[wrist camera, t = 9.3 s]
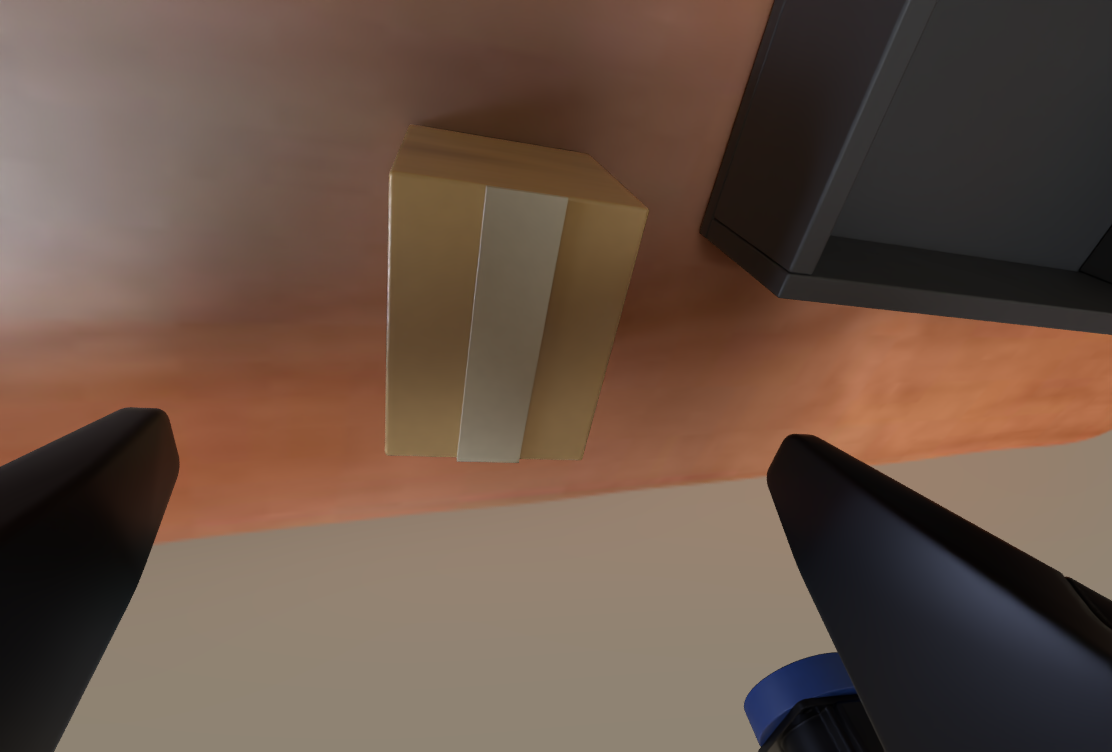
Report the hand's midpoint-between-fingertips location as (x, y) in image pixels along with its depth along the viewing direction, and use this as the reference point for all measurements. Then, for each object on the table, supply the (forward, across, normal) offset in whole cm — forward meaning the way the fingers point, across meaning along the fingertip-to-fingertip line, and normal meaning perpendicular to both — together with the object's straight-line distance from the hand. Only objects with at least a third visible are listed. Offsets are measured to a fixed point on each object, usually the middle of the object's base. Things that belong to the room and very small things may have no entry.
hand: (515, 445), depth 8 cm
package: (+8, 0, 0) cm, 8 cm away
